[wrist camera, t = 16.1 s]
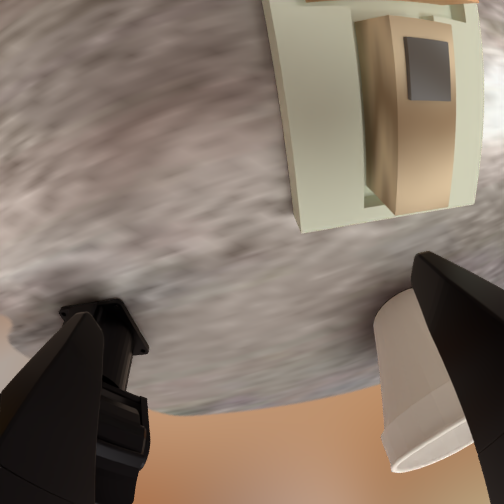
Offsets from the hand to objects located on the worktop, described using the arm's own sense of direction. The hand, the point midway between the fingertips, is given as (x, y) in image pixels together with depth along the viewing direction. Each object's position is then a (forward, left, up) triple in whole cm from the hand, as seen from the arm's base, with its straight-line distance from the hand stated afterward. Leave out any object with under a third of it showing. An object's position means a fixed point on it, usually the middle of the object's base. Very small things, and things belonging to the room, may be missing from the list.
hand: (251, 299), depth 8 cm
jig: (+5, -9, -12) cm, 16 cm away
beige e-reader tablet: (+2, -9, -11) cm, 15 cm away
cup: (-17, -13, -12) cm, 25 cm away
